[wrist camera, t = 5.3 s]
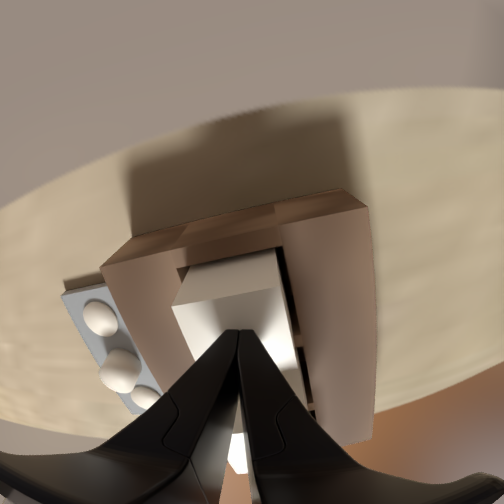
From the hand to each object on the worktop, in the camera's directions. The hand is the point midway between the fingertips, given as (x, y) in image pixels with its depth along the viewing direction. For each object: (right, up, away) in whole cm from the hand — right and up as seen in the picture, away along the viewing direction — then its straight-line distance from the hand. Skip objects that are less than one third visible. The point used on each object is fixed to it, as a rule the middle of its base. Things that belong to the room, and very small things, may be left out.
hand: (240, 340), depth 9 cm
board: (+1, -2, +7) cm, 7 cm away
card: (-7, -4, +8) cm, 11 cm away
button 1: (0, +2, +5) cm, 5 cm away
